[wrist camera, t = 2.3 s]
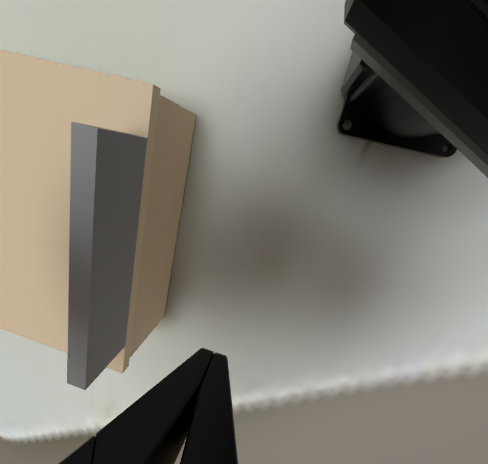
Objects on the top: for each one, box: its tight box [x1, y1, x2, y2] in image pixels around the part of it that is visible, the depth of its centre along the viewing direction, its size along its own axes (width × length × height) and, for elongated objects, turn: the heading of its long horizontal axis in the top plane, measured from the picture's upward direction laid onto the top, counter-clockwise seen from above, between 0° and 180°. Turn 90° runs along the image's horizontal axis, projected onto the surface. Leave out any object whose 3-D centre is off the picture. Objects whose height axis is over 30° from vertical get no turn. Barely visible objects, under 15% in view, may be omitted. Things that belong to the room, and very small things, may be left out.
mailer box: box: [129, 95, 196, 358], centre depth 16 cm, size 14×16×5 cm
